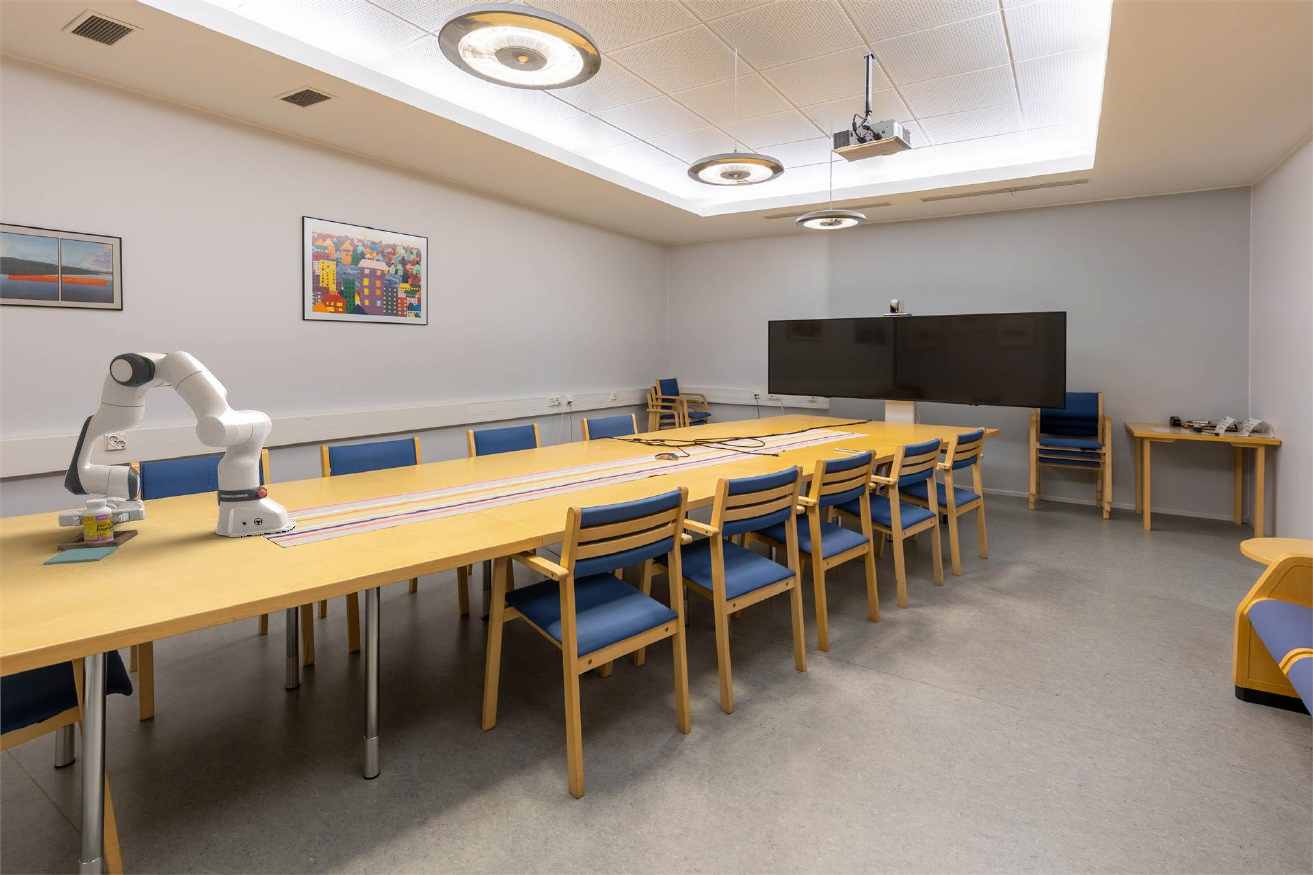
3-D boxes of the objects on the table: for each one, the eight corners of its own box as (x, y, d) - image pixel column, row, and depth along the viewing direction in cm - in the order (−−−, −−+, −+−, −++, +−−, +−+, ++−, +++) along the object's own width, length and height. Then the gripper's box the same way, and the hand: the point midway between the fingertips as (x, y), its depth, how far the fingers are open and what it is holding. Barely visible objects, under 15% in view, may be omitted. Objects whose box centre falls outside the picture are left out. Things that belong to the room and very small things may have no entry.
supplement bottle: (96, 546, 187) (92, 503, 186) (78, 544, 188) (74, 502, 187) (119, 540, 194) (116, 498, 192) (102, 538, 195) (98, 497, 193)
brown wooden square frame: (137, 534, 200) (137, 529, 200) (117, 546, 187) (117, 541, 187) (82, 537, 195) (81, 533, 195) (57, 550, 182) (57, 545, 182)
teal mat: (118, 548, 185) (118, 546, 185) (98, 560, 174) (98, 558, 174) (67, 551, 181) (66, 549, 181) (43, 564, 170) (43, 562, 170)
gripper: (64, 505, 196) (50, 514, 184) (148, 499, 206) (139, 507, 194) (66, 525, 197) (52, 535, 185) (149, 518, 207) (141, 527, 195)
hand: (97, 521), depth 190 cm, fingers open, 8 cm apart
